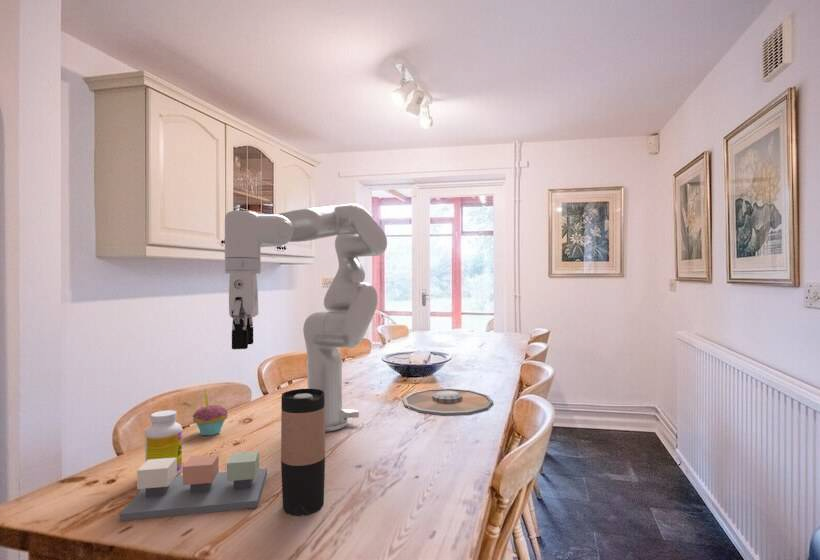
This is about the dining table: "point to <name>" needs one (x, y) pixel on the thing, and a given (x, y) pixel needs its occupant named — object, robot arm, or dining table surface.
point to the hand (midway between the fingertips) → (243, 345)
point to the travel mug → (303, 451)
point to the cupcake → (210, 418)
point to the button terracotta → (200, 469)
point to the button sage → (242, 466)
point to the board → (196, 497)
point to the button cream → (156, 473)
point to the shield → (447, 401)
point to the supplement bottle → (164, 438)
